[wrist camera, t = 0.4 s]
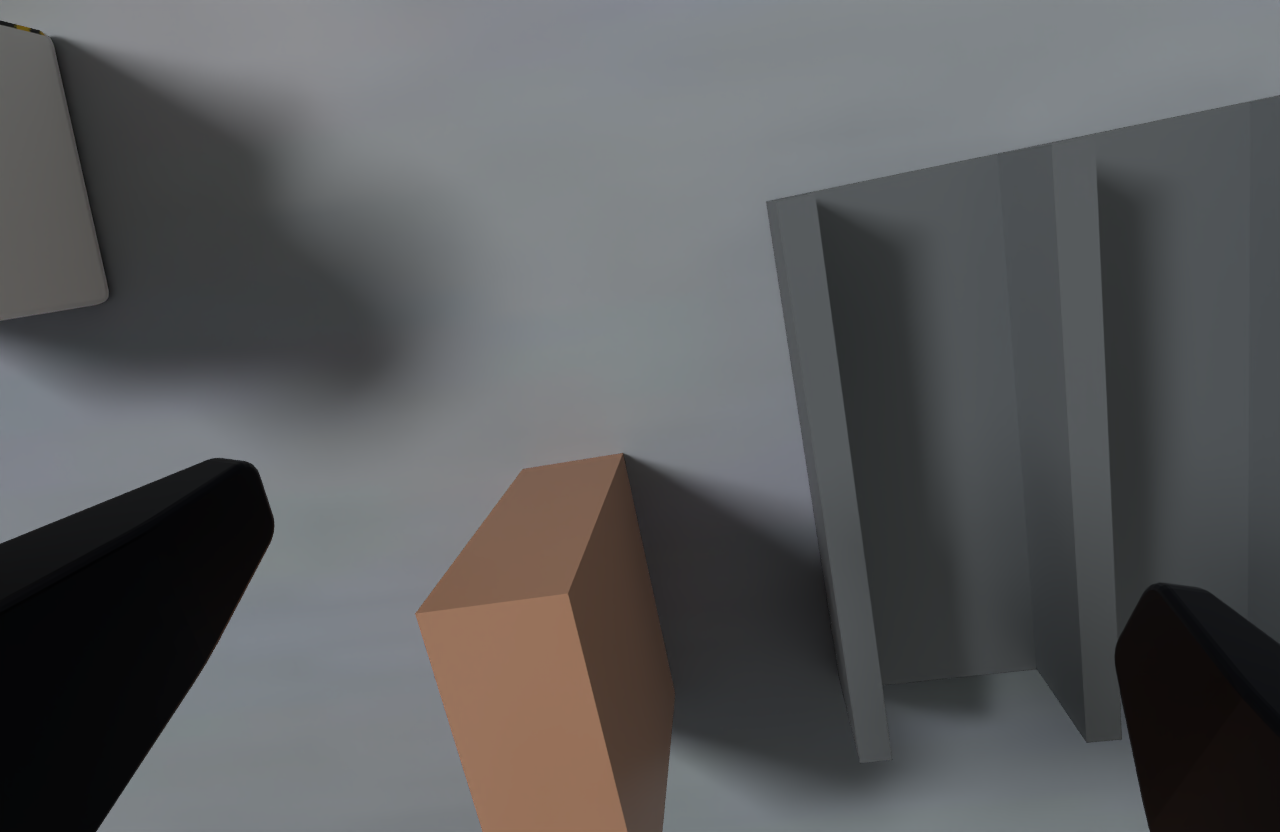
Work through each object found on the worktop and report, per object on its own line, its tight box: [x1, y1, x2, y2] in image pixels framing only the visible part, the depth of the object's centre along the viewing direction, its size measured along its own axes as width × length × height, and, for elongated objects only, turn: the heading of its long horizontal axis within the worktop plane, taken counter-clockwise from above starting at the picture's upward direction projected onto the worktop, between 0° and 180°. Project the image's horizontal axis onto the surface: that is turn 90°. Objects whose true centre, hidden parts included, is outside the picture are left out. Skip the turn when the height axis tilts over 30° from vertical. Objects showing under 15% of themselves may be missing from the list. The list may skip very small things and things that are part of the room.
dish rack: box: [766, 95, 1280, 763], centre depth 18 cm, size 14×17×4 cm
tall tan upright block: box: [415, 453, 675, 832], centre depth 19 cm, size 8×3×8 cm, turn 12°
